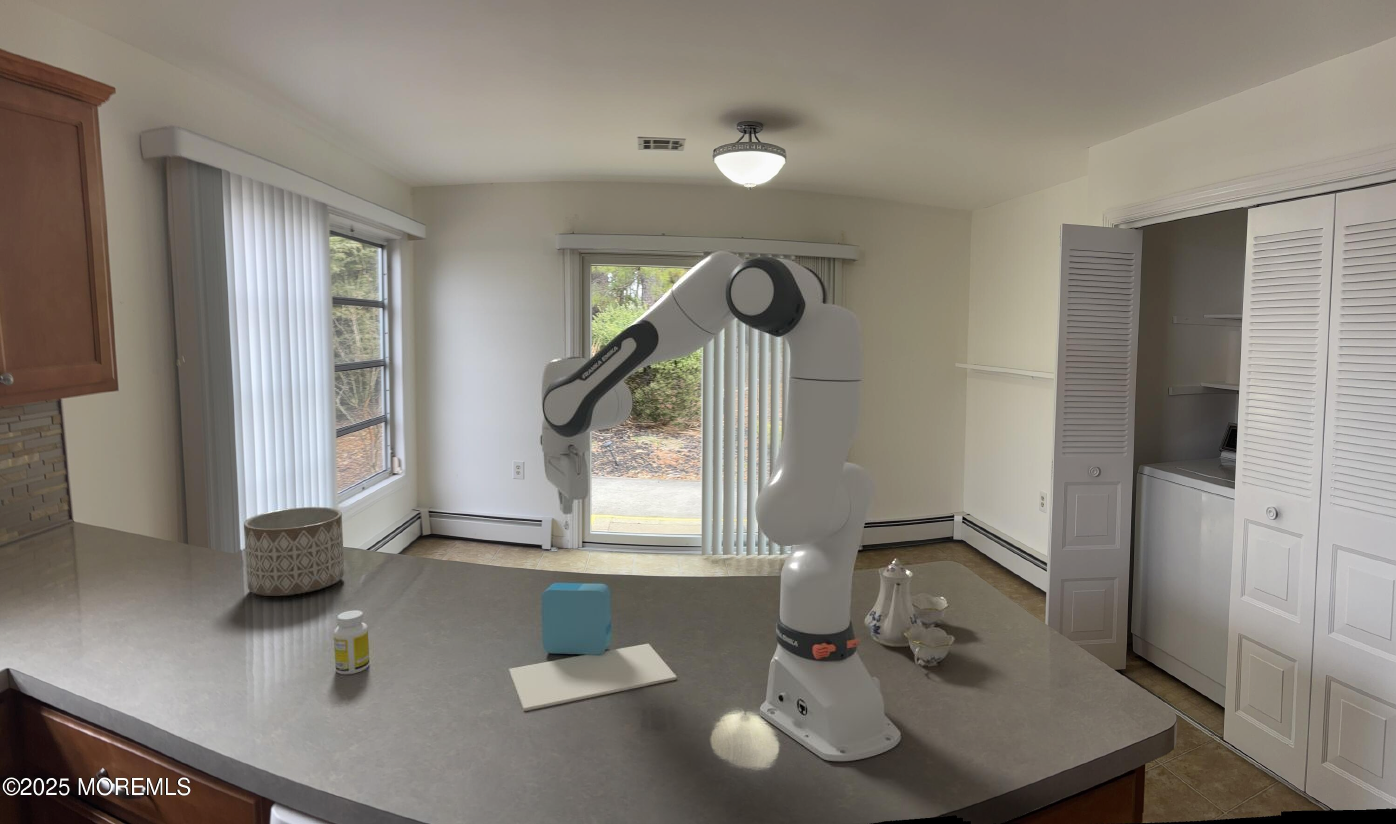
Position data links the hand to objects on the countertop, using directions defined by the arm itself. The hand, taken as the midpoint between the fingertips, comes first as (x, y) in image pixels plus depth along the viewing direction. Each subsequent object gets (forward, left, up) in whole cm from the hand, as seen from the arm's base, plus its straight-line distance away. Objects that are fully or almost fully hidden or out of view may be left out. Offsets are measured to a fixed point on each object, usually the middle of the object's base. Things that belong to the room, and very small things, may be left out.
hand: (566, 512), depth 134 cm
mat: (-18, 0, -25) cm, 31 cm away
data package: (-8, 0, -24) cm, 26 cm away
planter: (+49, +51, -25) cm, 75 cm away
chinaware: (-28, -61, -25) cm, 72 cm away
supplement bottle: (+1, +38, -25) cm, 45 cm away
